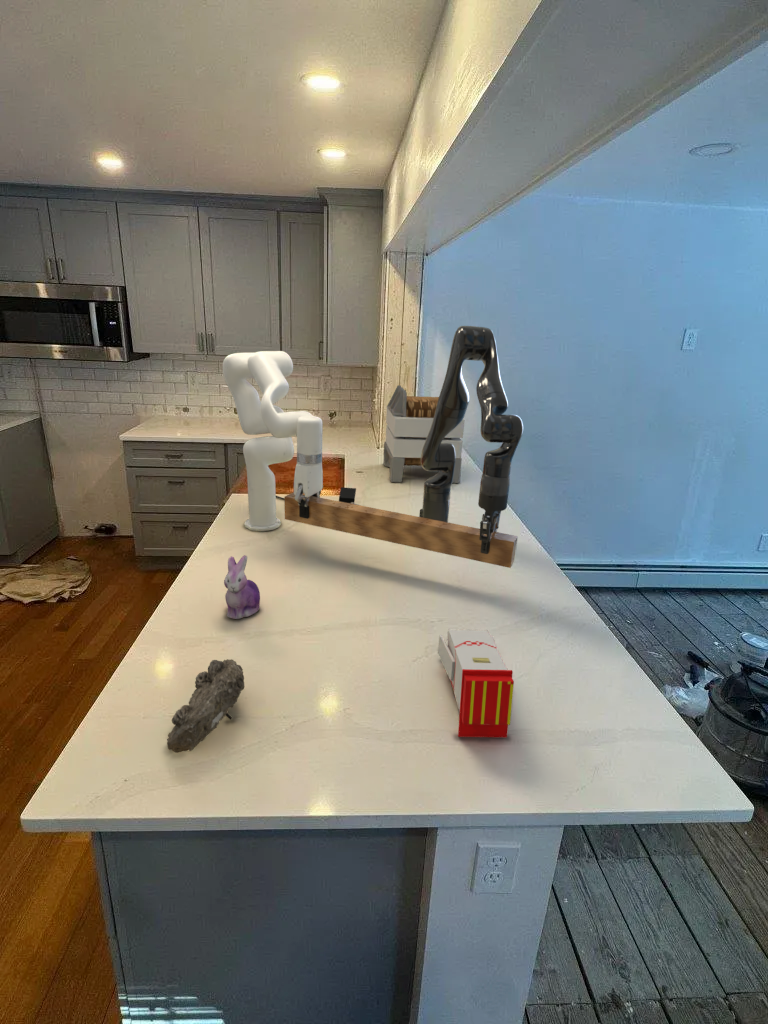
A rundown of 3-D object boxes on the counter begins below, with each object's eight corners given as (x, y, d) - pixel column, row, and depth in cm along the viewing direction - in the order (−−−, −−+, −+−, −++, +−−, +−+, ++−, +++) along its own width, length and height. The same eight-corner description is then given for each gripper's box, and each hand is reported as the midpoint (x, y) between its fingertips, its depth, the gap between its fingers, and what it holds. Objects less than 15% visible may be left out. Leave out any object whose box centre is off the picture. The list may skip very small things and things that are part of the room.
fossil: (192, 660, 117) (244, 628, 112) (224, 691, 120) (276, 661, 115) (142, 746, 98) (202, 712, 93) (182, 779, 101) (242, 748, 96)
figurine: (229, 624, 139) (226, 568, 134) (220, 605, 148) (216, 552, 142) (266, 616, 143) (265, 562, 138) (255, 598, 152) (254, 546, 147)
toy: (488, 613, 130) (523, 677, 101) (484, 667, 133) (517, 744, 104) (435, 612, 130) (455, 676, 101) (432, 666, 133) (451, 743, 103)
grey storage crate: (382, 463, 289) (386, 382, 275) (445, 464, 293) (451, 384, 279) (390, 482, 257) (394, 392, 243) (460, 483, 261) (468, 394, 247)
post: (514, 561, 155) (517, 536, 153) (510, 568, 151) (514, 542, 149) (293, 514, 181) (292, 492, 179) (284, 519, 177) (284, 496, 174)
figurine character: (355, 520, 214) (356, 503, 227) (355, 502, 211) (356, 486, 224) (337, 519, 214) (339, 502, 227) (337, 501, 210) (339, 485, 224)
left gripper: (313, 450, 178) (312, 504, 184) (282, 462, 163) (283, 521, 170) (334, 453, 175) (333, 509, 182) (305, 466, 161) (305, 526, 167)
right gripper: (486, 481, 157) (480, 537, 163) (473, 495, 144) (466, 556, 150) (514, 485, 154) (506, 543, 160) (502, 500, 142) (494, 562, 147)
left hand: (309, 514), depth 176 cm, fingers closed on post, 5 cm apart
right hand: (487, 549), depth 155 cm, fingers closed on post, 5 cm apart
